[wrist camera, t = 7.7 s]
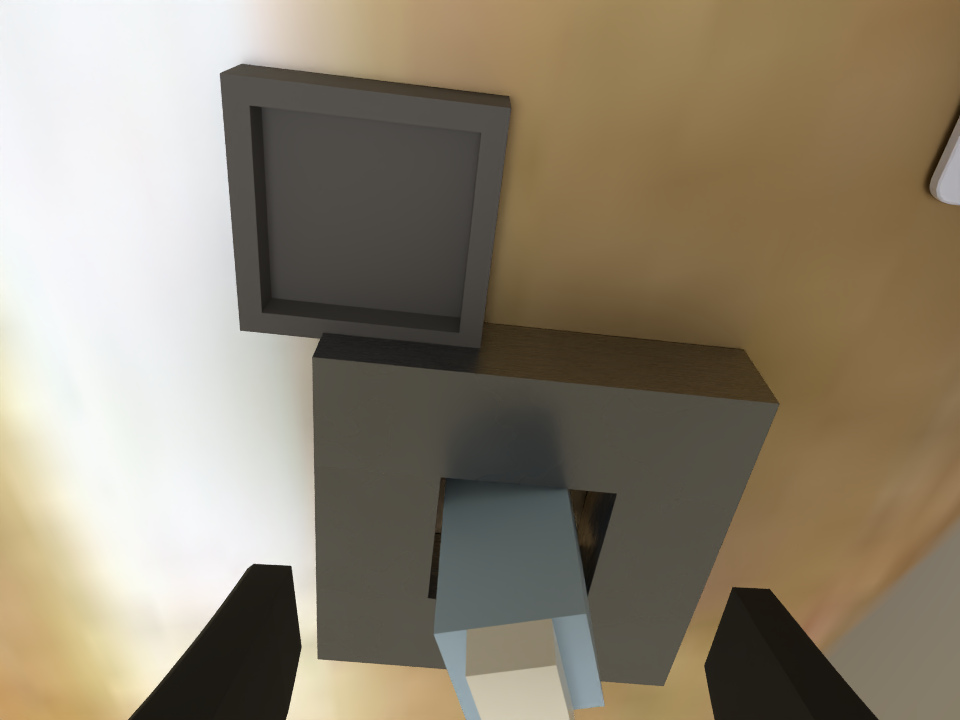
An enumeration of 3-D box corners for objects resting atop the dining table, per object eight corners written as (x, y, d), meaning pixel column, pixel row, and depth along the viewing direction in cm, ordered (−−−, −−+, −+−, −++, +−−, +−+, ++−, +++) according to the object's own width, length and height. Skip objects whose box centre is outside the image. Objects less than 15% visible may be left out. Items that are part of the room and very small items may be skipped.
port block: (744, 349, 20) (779, 403, 17) (647, 618, 26) (663, 686, 24) (334, 307, 19) (312, 357, 17) (333, 592, 25) (317, 658, 23)
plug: (558, 429, 21) (593, 660, 14) (574, 512, 23) (612, 753, 16) (448, 448, 22) (429, 681, 15) (472, 528, 24) (465, 769, 17)
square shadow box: (509, 96, 16) (511, 108, 15) (479, 328, 20) (479, 354, 18) (241, 64, 16) (219, 73, 15) (256, 305, 19) (240, 330, 18)
